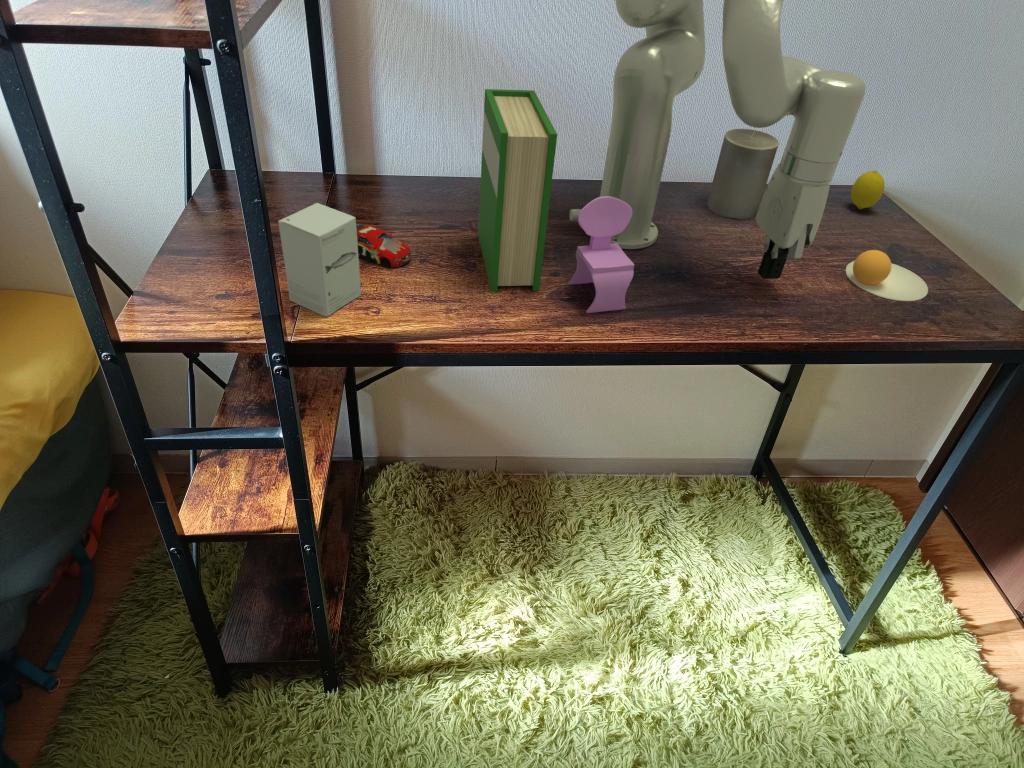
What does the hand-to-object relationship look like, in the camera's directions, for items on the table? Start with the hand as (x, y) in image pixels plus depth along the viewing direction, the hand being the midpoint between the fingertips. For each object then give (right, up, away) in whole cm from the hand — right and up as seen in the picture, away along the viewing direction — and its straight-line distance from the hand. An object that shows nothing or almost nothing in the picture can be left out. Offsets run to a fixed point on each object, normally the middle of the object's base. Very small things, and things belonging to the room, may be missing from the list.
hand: (768, 275), depth 111 cm
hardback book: (-42, +2, 0) cm, 42 cm away
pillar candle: (+1, +16, +22) cm, 28 cm away
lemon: (+28, +17, +26) cm, 42 cm away
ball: (+18, +2, +2) cm, 18 cm away
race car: (-63, +3, 0) cm, 63 cm away
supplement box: (-68, -5, -11) cm, 69 cm away
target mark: (+22, 0, +5) cm, 22 cm away
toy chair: (-28, -4, -6) cm, 29 cm away
